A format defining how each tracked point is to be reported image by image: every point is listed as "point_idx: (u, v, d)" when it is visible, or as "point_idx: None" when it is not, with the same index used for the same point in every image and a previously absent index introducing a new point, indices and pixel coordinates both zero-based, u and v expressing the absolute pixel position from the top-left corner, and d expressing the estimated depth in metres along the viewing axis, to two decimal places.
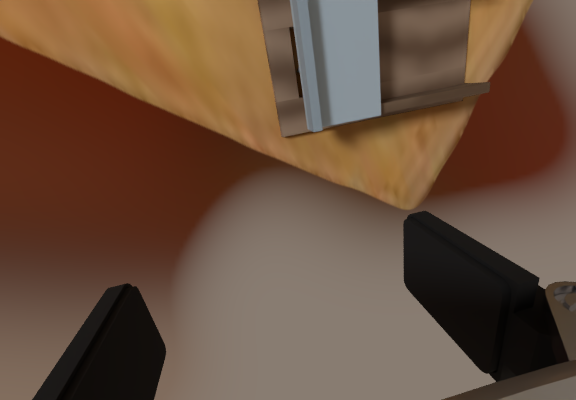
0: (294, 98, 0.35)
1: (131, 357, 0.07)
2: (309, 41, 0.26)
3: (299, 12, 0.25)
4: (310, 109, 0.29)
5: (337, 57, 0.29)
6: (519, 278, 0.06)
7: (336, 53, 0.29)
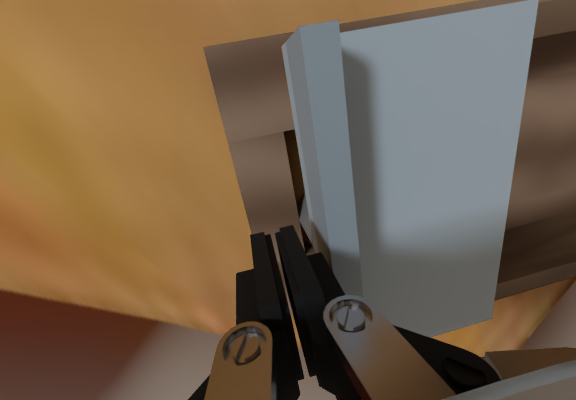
0: None
1: None
2: (350, 236, 0.09)
3: (322, 168, 0.08)
4: None
5: (410, 229, 0.12)
6: (309, 292, 0.06)
7: (408, 221, 0.12)
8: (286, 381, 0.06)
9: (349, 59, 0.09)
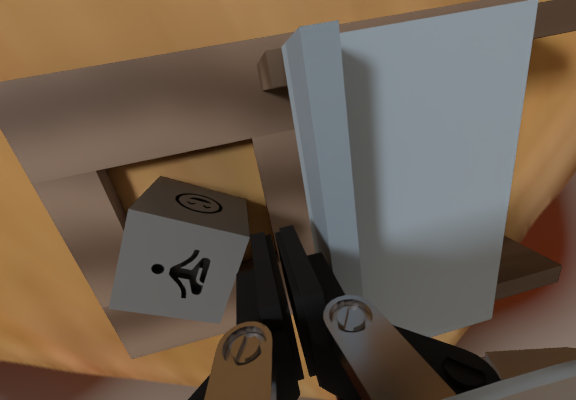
0: None
1: None
2: (349, 236, 0.09)
3: (322, 168, 0.08)
4: None
5: (410, 229, 0.12)
6: (309, 292, 0.06)
7: (408, 221, 0.12)
8: (286, 381, 0.06)
9: (349, 59, 0.09)
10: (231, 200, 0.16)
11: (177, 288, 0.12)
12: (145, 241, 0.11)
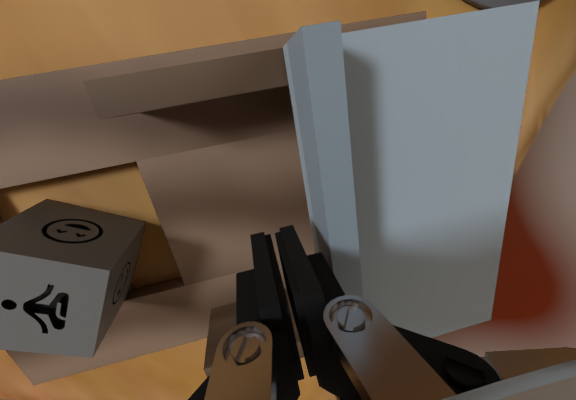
0: None
1: None
2: (350, 236, 0.09)
3: (323, 168, 0.08)
4: None
5: (410, 229, 0.12)
6: (309, 292, 0.06)
7: (408, 221, 0.12)
8: (286, 381, 0.06)
9: (350, 60, 0.09)
10: (124, 223, 0.15)
11: (36, 323, 0.12)
12: None
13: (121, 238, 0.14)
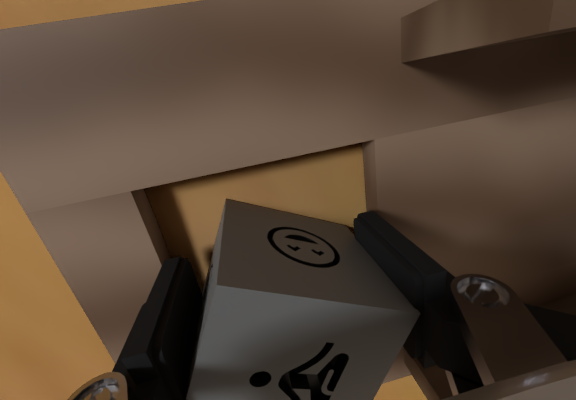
0: None
1: (191, 318, 0.08)
2: None
3: None
4: None
5: None
6: (430, 271, 0.06)
7: None
8: None
9: None
10: (333, 230, 0.10)
11: None
12: (243, 337, 0.06)
13: (359, 253, 0.09)
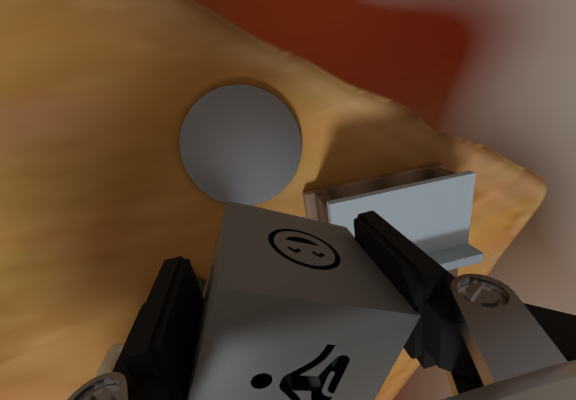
0: None
1: (191, 318, 0.08)
2: None
3: None
4: None
5: (408, 232, 0.27)
6: (430, 271, 0.06)
7: (404, 233, 0.27)
8: None
9: None
10: (333, 232, 0.10)
11: None
12: (244, 340, 0.06)
13: (359, 255, 0.09)
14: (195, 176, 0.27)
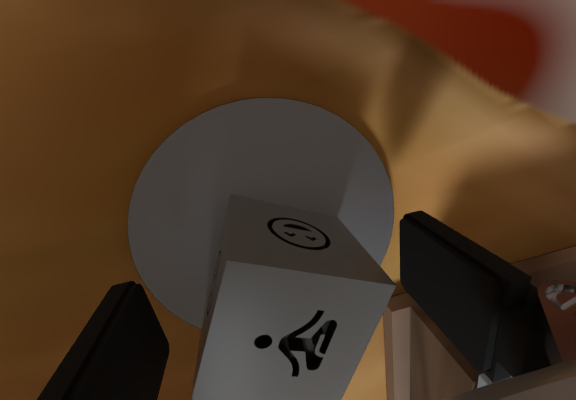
0: None
1: (136, 353, 0.07)
2: None
3: None
4: None
5: None
6: (512, 277, 0.06)
7: None
8: None
9: None
10: (325, 221, 0.12)
11: (288, 364, 0.08)
12: (248, 305, 0.07)
13: (347, 240, 0.10)
14: (169, 296, 0.12)
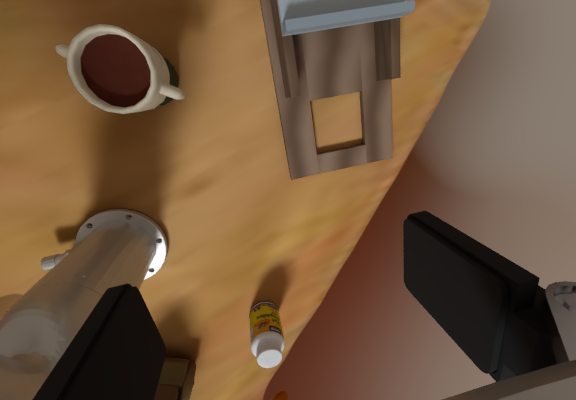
0: (365, 148, 0.43)
1: (131, 357, 0.07)
2: (340, 14, 0.29)
3: (318, 24, 0.29)
4: (393, 14, 0.30)
5: None
6: (519, 278, 0.06)
7: None
8: None
9: (287, 12, 0.30)
10: None
11: None
12: None
13: None
14: None
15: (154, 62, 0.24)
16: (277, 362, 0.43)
